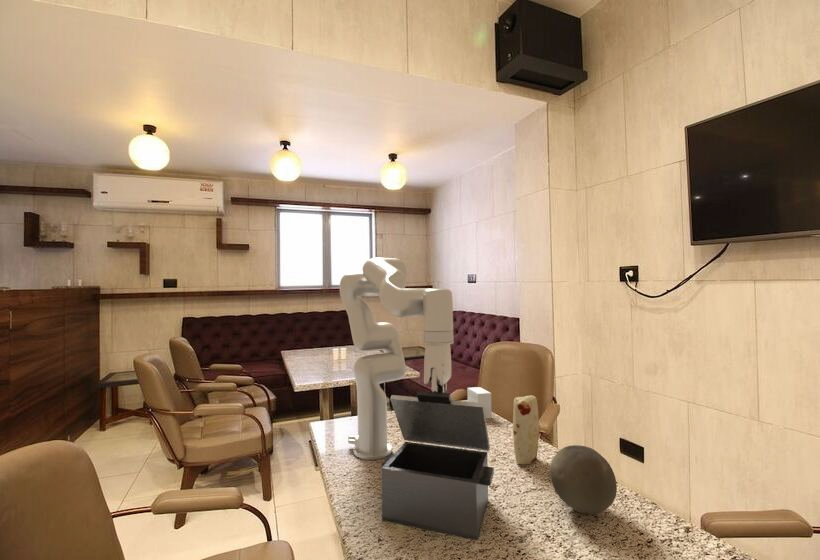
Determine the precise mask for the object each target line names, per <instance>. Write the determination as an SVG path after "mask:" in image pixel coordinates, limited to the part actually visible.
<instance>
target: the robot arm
mask: <svg viewBox="0 0 820 560" xmlns="http://www.w3.org/2000/svg"><path fill="white" fill-rule="evenodd" d="M407 276H408V268H407V265H406V263H405V262H404V261H403V260H401V259H399V258H395V257H393V258H391V257H373V258H369V259H368V260H366V261H365V263H364V264H363V266H362V271H353V272H349V273H346V274H344V275H343V276H342V277H341V279H340V282H339V296H340V300H341V302H342V304H343V307H344V309H345V311H346V314H347V316H348V317H347V318H348V323H349V326H350V327H349V328H350V332H351V337H352V342H353V346H354V348H355V350H356V351H358V352H361V353H368V352H377V351H383V353H375V354H367V355H363V356H361V357H359V358H358V359H356V360H355V363H354V365H353V373H354V378H355V379H354V380H355V383H356V393H357V394H356V395H357V399H356V400H357V435H352V434H350V435H348V439H347V443H348V444H350V445H354V447H353V455H354V456H355V457H357V458H358V457H359V459H362V460H369V461H370V460H379V459H380V460H381V459H383V458H387V457H388V456H389V455H390V453H392V451H393V447H392V444H390V442H388V421H387V419H388V412H387V411H388V410H387V395H386V393H385V390H383V388H382V387H381V385H380V384H383V383H389V382H394V381H399V380H401V379H402V378H403V377H404V376H405V373H406V369H407V368H406V362H405V356H404V352H403V347H402V344H401V340H400V334H399V332H398V330H397V328H396V326H395V325H394V324H393V323H391V322H385V321H384V322H376V320H375V318H374V314H373V313H374V312H373V310H372V308H371V306H370V305H369V304H368V302H366V301H365V300H364V299H363V298H362V297H379V301H380V304H381V305H382V307H383V308H384V309H385V310H386V311H387V312H388V313H390V314H392V315H393V316H395V317H398V318H411V317H422V320H423V321H422V324H423V332H422V333H423V344H424V345H425V346H424V357H423V358H424V359H423V361H424V362H423V363H424V364H423V383H424V385H426V386H428V385H429V384H430V383H431V388H430V389H431V391H430V392H439V393H448V392H447V391H448V389H447V388H448V387H447V386H448V381H449V380H450V379H451V378H452V353H451V352H452V351H451V350H452V348H451V345H453V344H454V342H455V341H454V315H453V314H454V312H453V311H454V308H453V305H454V304H453V303H454V302H453V292H452V291H451V289H448V288H428V287H427V288H425V287H424V288H421V287H420V288H419V287H417V288H410V287H408V288H407V287H406V285H407Z"/></svg>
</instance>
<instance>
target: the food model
mask: <svg viewBox="0 0 820 560" xmlns="http://www.w3.org/2000/svg"><path fill="white" fill-rule="evenodd" d="M512 413H513V417H512V438H513V449H514V456H515V458H514V459H515V461H516V463H517V464H518V465H529V464H532V463H534V462H536V461H537V458H538V449H539V439H540V438H539V437H540V423H539V422H540V421H539V419H540V418H539V407H538V400H537V397H536V396H535V395H531V394H530V395H525V396H515V397H514V398H513V411H512Z"/></svg>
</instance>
